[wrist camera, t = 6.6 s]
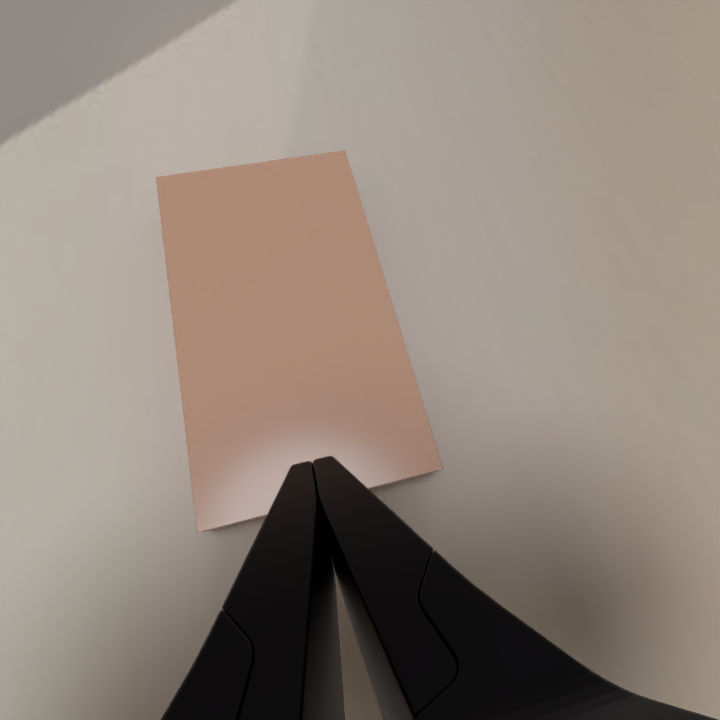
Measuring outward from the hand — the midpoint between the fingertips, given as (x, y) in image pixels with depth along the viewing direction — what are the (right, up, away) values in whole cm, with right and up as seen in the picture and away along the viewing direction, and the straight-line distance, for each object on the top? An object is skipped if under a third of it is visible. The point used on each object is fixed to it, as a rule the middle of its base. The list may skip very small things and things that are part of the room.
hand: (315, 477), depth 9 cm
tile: (0, -2, +6) cm, 7 cm away
